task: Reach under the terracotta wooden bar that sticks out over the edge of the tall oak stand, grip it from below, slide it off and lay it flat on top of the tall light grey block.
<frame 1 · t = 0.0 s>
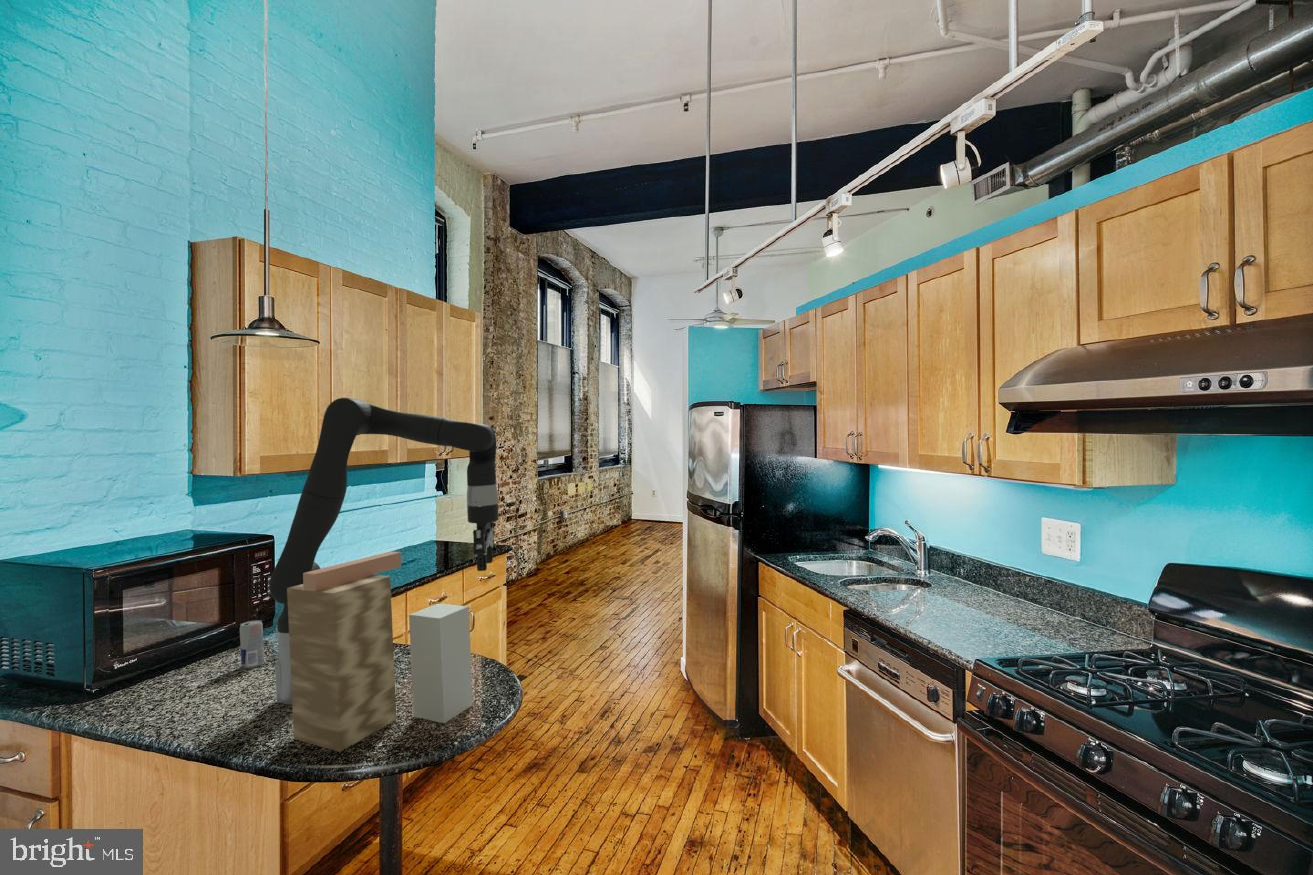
hand: (485, 566, 150), 29 cm above the countertop, tool pointing down, fingers open, 8 cm apart
terracotta bar: (356, 577, 132), point 32 cm above the countertop, touching oak stand
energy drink: (253, 665, 168), on the countertop
oak stand: (346, 729, 128), on the countertop
grey block: (443, 710, 136), on the countertop
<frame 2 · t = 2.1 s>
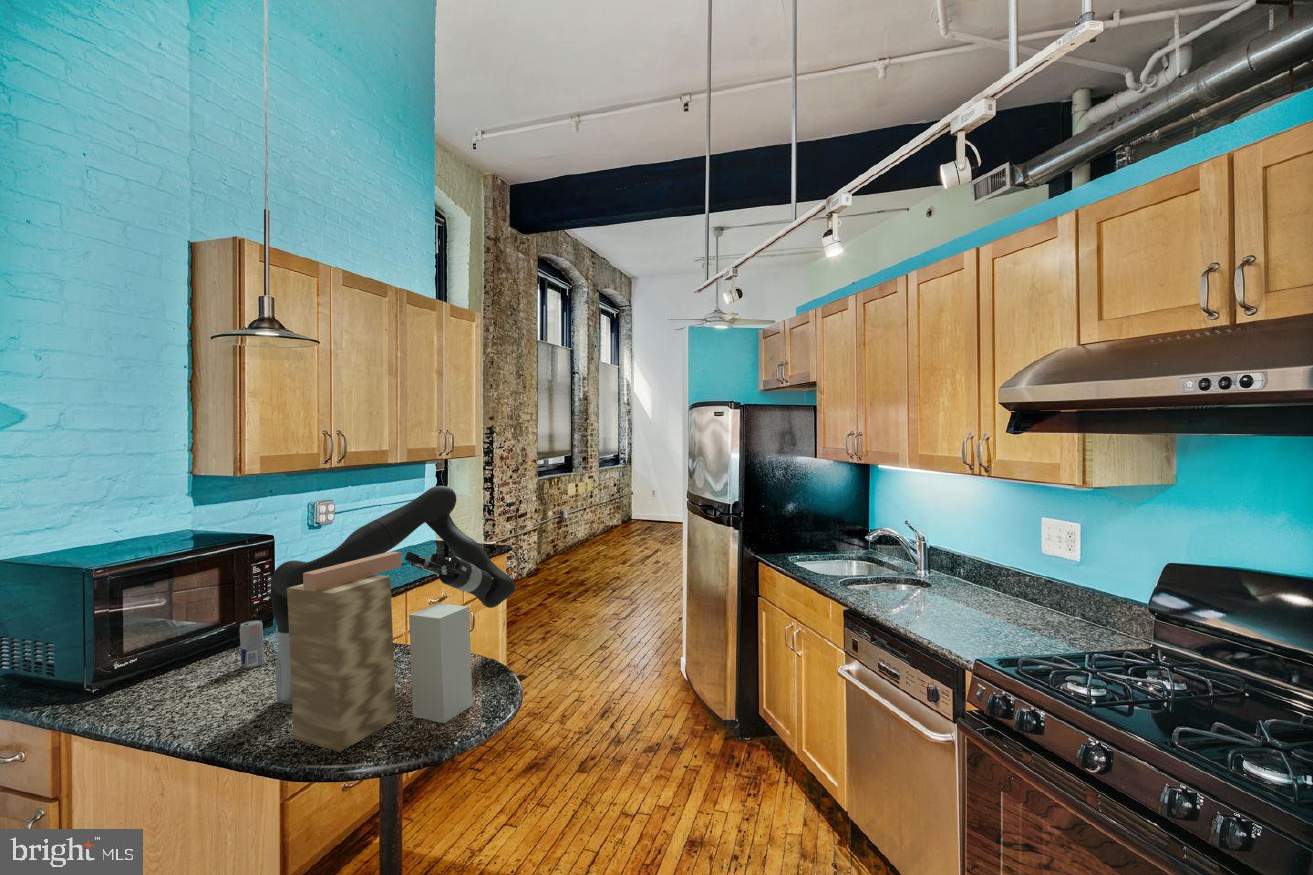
hand: (419, 556, 148), 33 cm above the countertop, tool pointing upward, fingers open, 8 cm apart
nothing on the countertop moved.
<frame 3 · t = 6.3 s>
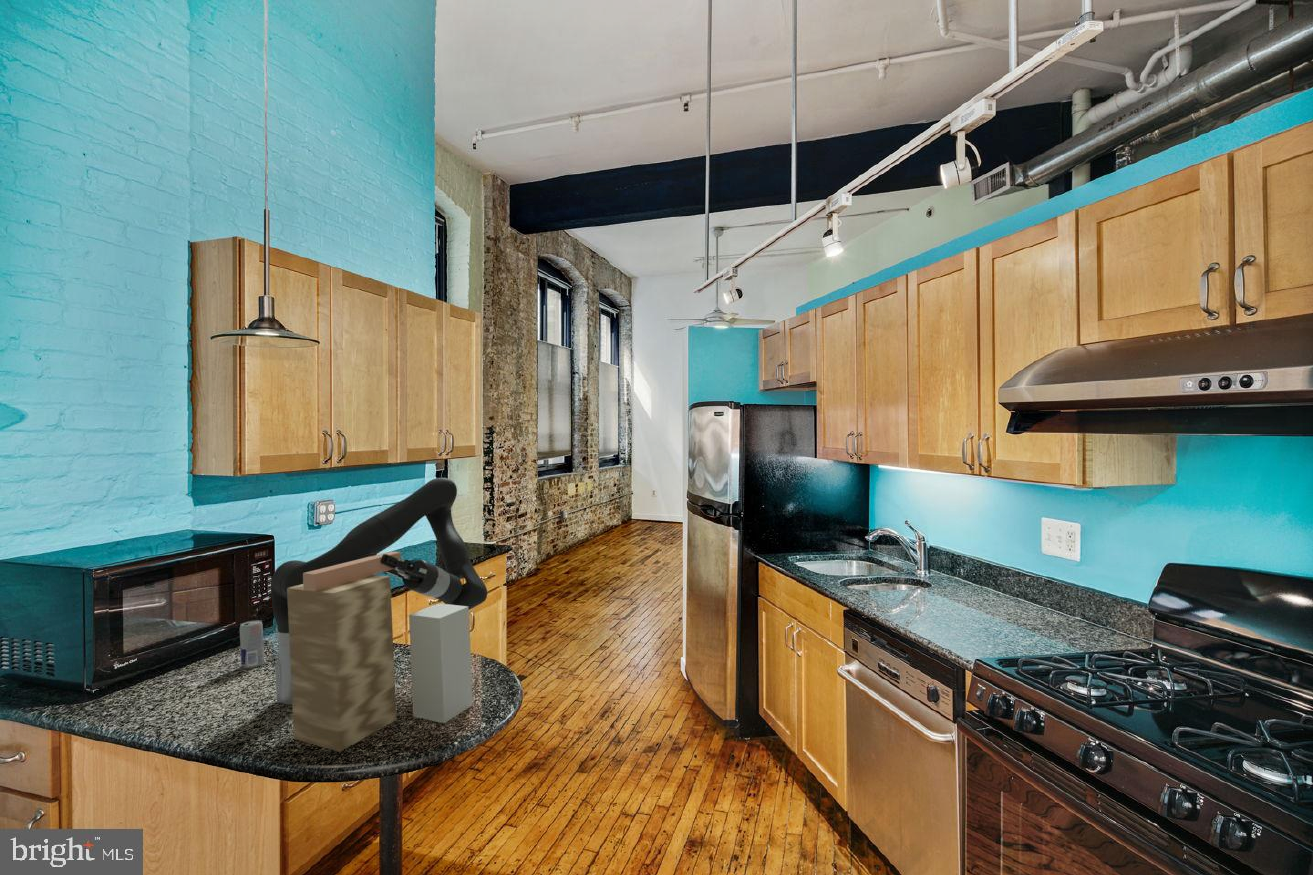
hand: (376, 557, 137), 35 cm above the countertop, tool pointing upward, fingers closed on terracotta bar, 3 cm apart
terracotta bar: (356, 577, 132), point 32 cm above the countertop, touching gripper, oak stand
everything else where it was.
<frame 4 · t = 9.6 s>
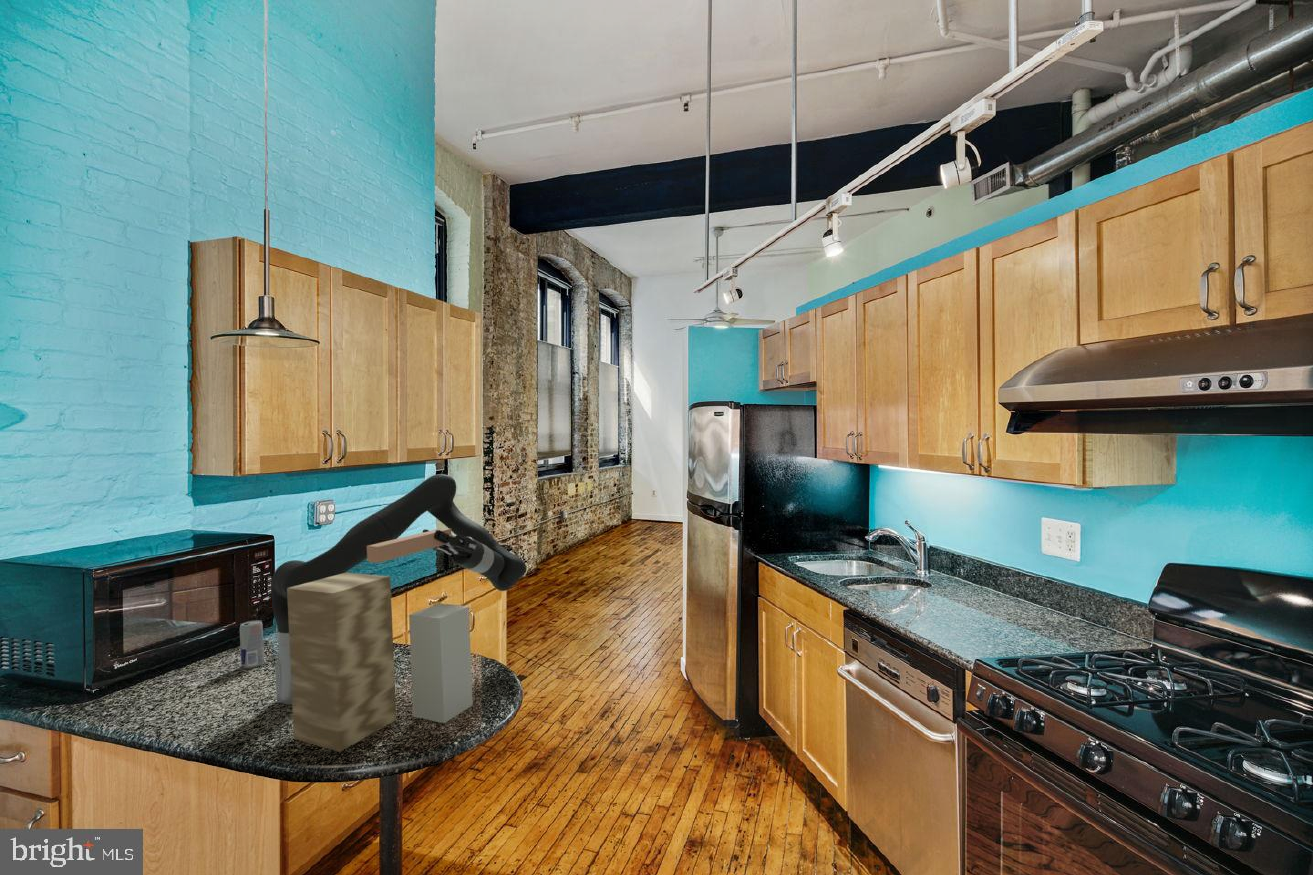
hand: (429, 533, 144), 39 cm above the countertop, tool pointing upward, fingers closed on terracotta bar, 3 cm apart
terracotta bar: (412, 551, 139), point 36 cm above the countertop, touching gripper
everything else where it was.
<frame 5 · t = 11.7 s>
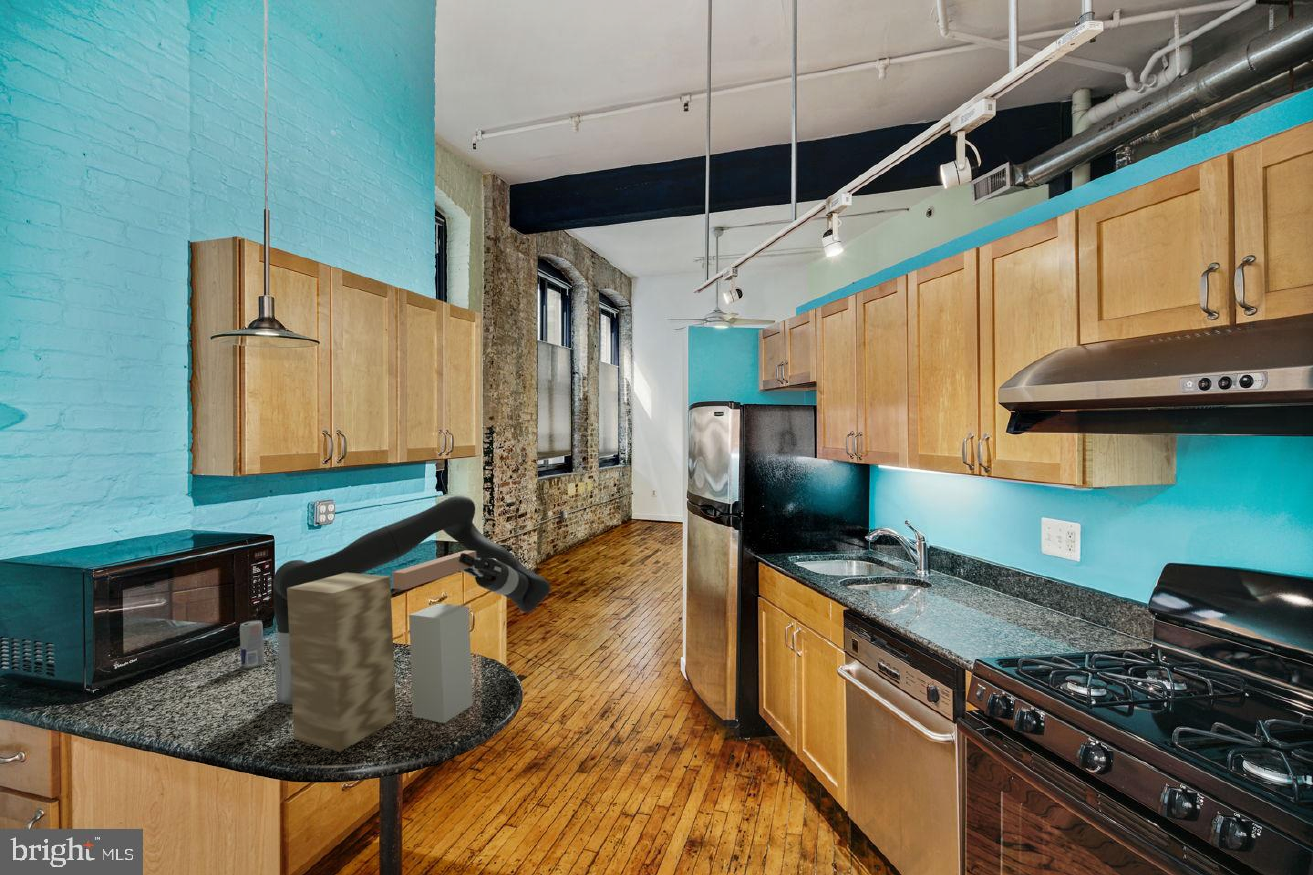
hand: (454, 556, 140), 34 cm above the countertop, tool pointing upward, fingers closed on terracotta bar, 3 cm apart
terracotta bar: (437, 576, 135), point 31 cm above the countertop, touching gripper
everything else where it was.
when the fingers open (28 cm above the countertop, at t = 13.4 s): terracotta bar drops 1 cm, resting on grey block.
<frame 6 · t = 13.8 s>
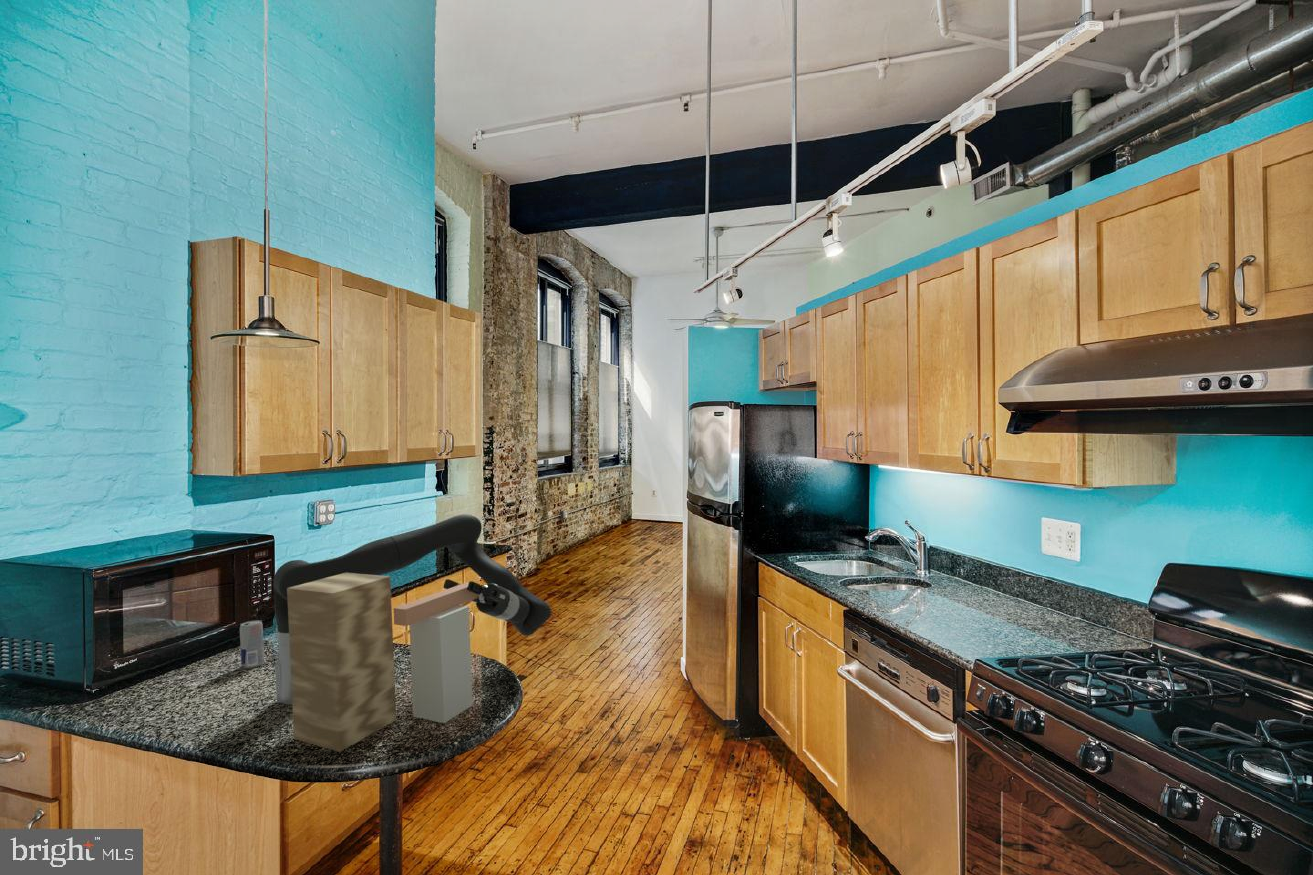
hand: (457, 584, 141), 27 cm above the countertop, tool pointing upward, fingers open, 6 cm apart
terracotta bar: (439, 610, 136), point 23 cm above the countertop, touching grey block
everything else where it was.
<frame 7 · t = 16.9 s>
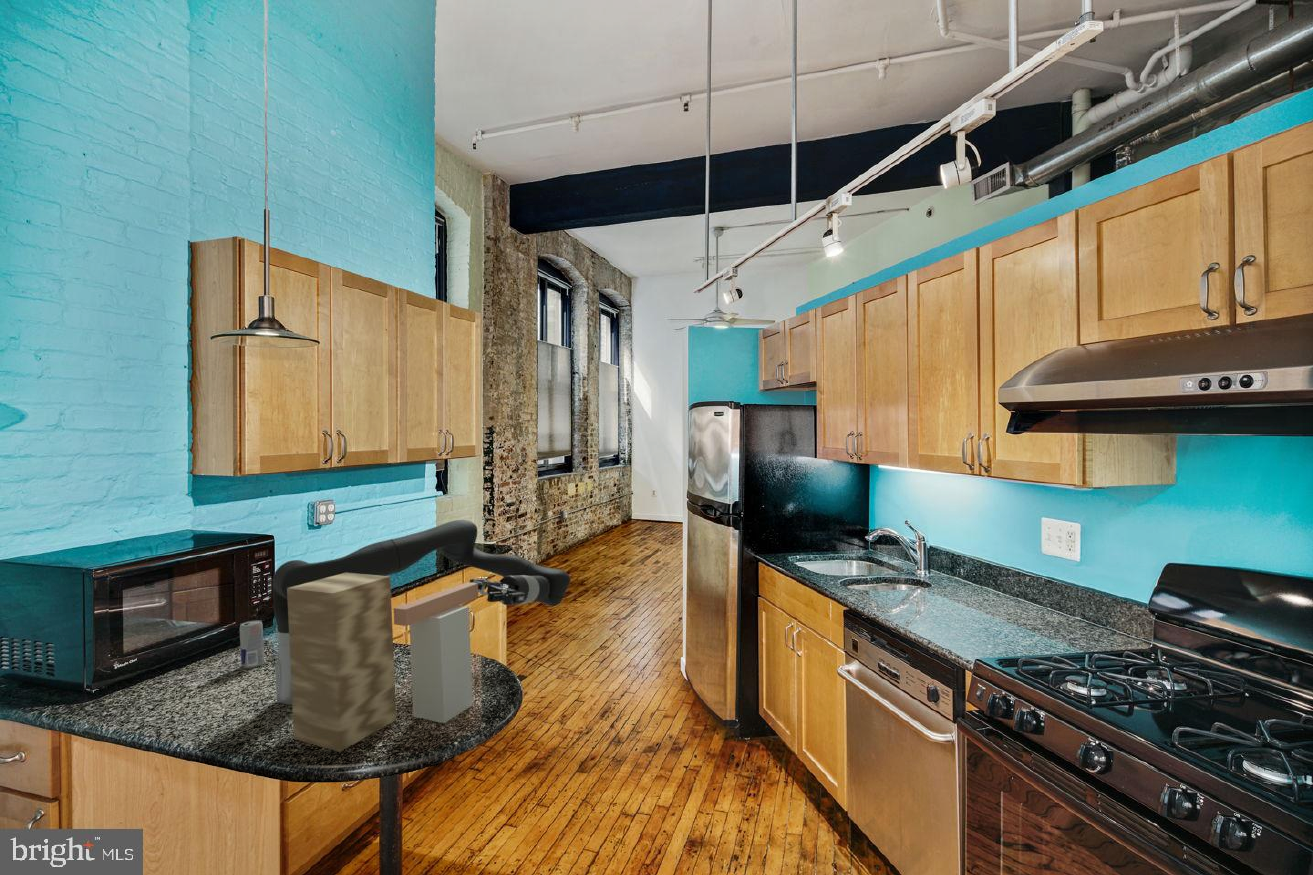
hand: (476, 592, 145), 24 cm above the countertop, tool horizontal, fingers open, 8 cm apart
nothing on the countertop moved.
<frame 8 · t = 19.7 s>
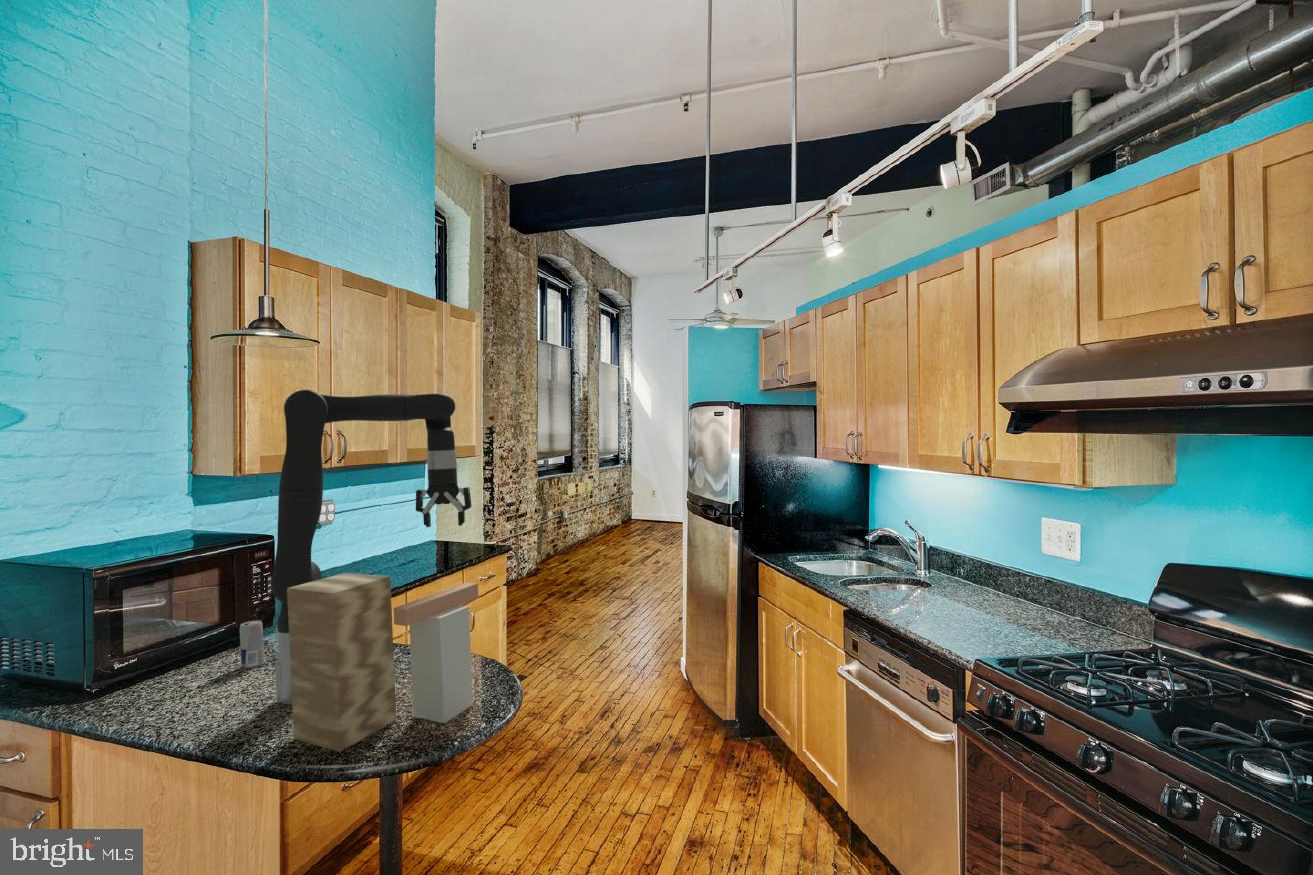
hand: (444, 526, 163), 38 cm above the countertop, tool pointing down, fingers open, 8 cm apart
nothing on the countertop moved.
at the end: terracotta bar inside the target area on the grey block (0.3 cm from its centre), point 23.0 cm above the grey block's base; terracotta bar tilted 0°; the gripper is holding nothing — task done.
